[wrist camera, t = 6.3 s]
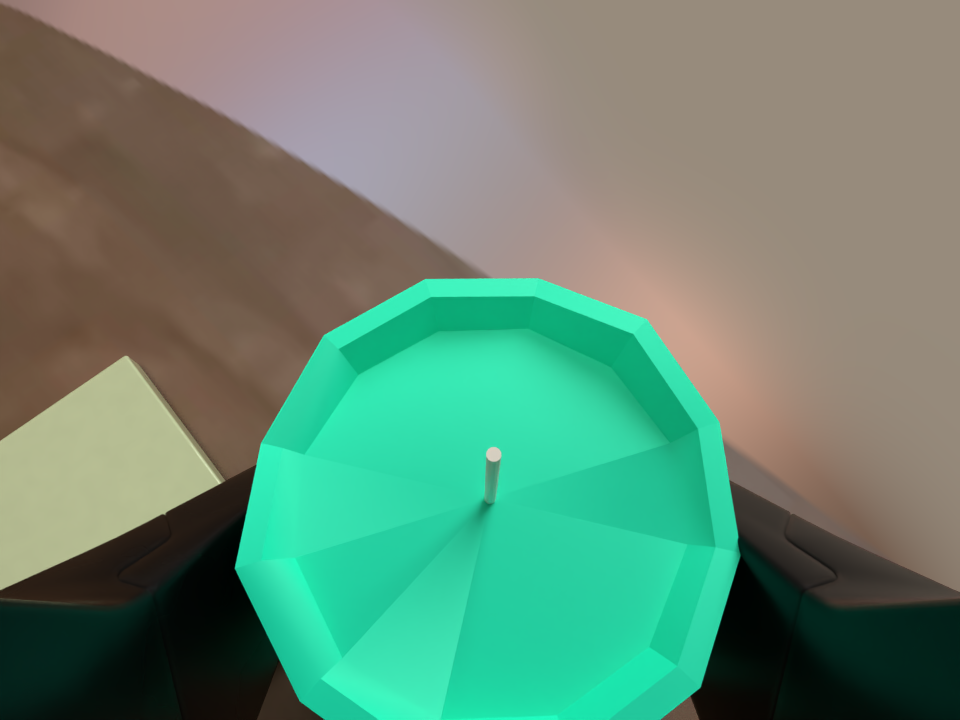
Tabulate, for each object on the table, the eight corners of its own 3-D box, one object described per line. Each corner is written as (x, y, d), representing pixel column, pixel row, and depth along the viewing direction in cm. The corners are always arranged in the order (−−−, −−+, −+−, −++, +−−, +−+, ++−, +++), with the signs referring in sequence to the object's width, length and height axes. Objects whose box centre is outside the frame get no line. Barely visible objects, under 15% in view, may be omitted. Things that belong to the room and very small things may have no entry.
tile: (324, 612, 16) (316, 611, 16) (-34, 936, 14) (-64, 954, 13) (139, 364, 19) (125, 353, 19) (-185, 588, 16) (-216, 585, 16)
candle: (479, 426, 18) (479, 119, 7) (636, 567, 17) (938, 439, 6) (330, 578, 16) (38, 468, 6) (489, 754, 15) (521, 1094, 4)
